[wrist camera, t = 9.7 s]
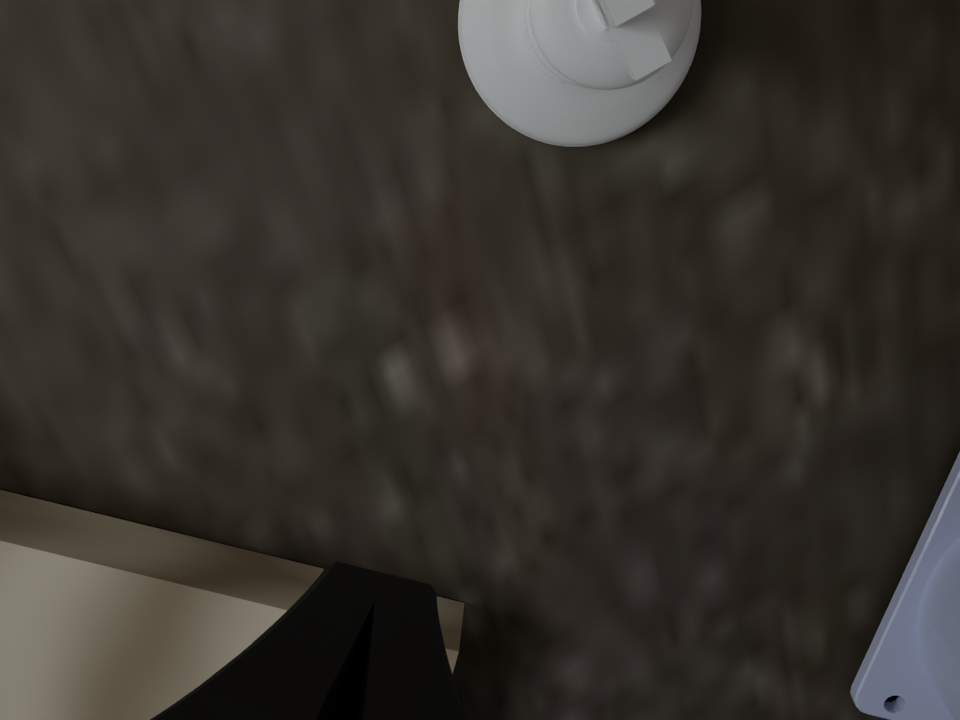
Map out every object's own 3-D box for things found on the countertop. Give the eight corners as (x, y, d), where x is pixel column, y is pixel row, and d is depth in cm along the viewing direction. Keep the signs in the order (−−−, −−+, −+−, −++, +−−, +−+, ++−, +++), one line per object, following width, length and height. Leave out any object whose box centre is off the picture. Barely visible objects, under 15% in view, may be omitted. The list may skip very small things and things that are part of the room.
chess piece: (635, -160, 18) (756, -402, 8) (738, 74, 19) (944, 97, 10) (415, -28, 19) (297, -109, 9) (527, 187, 20) (525, 310, 11)
